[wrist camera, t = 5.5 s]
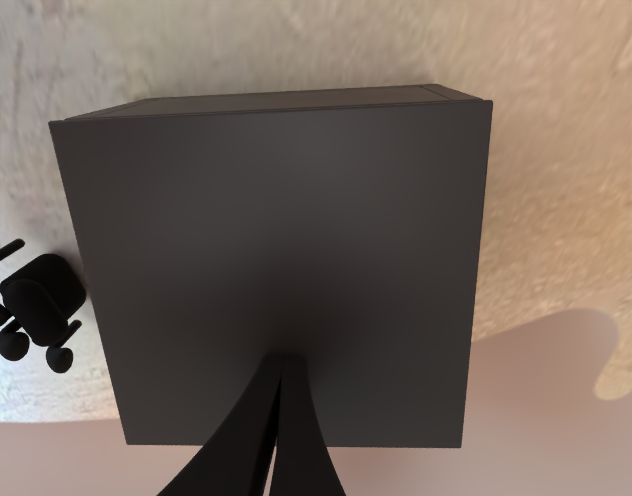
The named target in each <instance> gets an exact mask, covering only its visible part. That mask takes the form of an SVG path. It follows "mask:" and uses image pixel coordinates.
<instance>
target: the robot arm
mask: <svg viewBox="0 0 632 496" xmlns="http://www.w3.org/2000/svg"><path fill="white" fill-rule="evenodd" d="M276 439H277V450H276V457H275V463H274V469H273V476H272V481H271V487H270V493H269V496H346V494H345V492H344V490H343V487H342V486H341V483H340V481H339V478H338V476H337V474H336V471H335V469H334V466H333V464H332V461H331V459H330V456H329V453H328V450H327V448H326V445H325V442H324V439H323V436H322V433H321V429H320V426H319V423H318V419H317V415H316V411H315V408H314V404H313V399H312V395H311V390H310V384H309V377H308V362H307V360H306V359H303V358H294V357H284V356H275V355H265V356H263V357H262V359H261V361H260V364H259V366H258V368H257V370H256V371H255V373H254V375H253V377H252V379H251V380H250V382H249V384H248V385H247V387H246V389H245V390H244V392H243V393H242V395H241V396H240V398H239V399H238V401H237V402H236V404H235V405H234V407H233V408H232V410H231V411H230V412H229V414H228V415H227V416H226V418H225V419H224V420H223V422H222V423H221V424H220V426H219V427H218V428H217V430H216V431H215V432H214V434H213V435H212V436H211V437H210V438H209V440H208V441H207V442H206V443H205V445H204V446H203V447H202V448H201V449H200V450H199V452H198V453H197V454H196V455H195V456H194V457H193V458H192V460H191V461H190V462H189V463H188V464H187V465H186V466H185V467H184V468H183V469H182V470H181V471H180V472H179V474H178V475H177V476H176V477H175V478H174V479H173V480H172V481H171V482H170V483H169V484H168V485H167V486H166V487H165V488H164V489H163V490H162V491H161V492H160V493H159V494H158V495H157V496H263V493H264V489H265V485H266V480H267V476H268V472H269V468H270V464H271V459H272V455H273V451H274V447H275V443H276Z"/></svg>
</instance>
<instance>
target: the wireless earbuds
mask: <svg viewBox="0 0 632 496" xmlns="http://www.w3.org/2000/svg"><path fill="white" fill-rule="evenodd" d="M24 245H25V242H24V241H23V240H22V239H16V240H15V241H13V242H11V243H9V244H8V245H6V246H4V247H3V248H1V249H0V261H1V260H3V259H4V258H6V257H7V256H9V255H11V254H12V253H14V252H15V251H17V250H19V249H20V248H22V247H23V246H24ZM0 293H1V295H2V296H3V303H4V306H5V307H4V306H3V305H1V304H0V326H2V325H4V324H5V323H6V322H7V320H8V319H10V318H11V317H12V316H14V317H15V319H14V320H12V321H11V322H10V323H9V324H8V325H6V326H5V327H4V328H3V329H2V330H1V331H0V354H1V355H2V356H3V357H4V358H5V359H7V360H10V361H18V360H20V359H22V358H23V357H24V356H25V355H26V354H27V352H28V349H29V344H30V341H29V337H28V335H29V336H30V337H31V339H32V342H33V343H35V344H36V345H38V346H41V347H46V346H49V347H48V349H47V351H46V360H47V363H48V365H49V367H50V368H51V369H52V370H53V371H54V372H56V373H65V372H67V371H68V370H69V368H70V367H71V365H72V362H73V352H72V350H71V349H69V348H61V347H62V346H63V345H64V344H65V343H66V341H67V340H68V339H69V338H70V337H71V336H72V335H73V334H74V333H75V332H76V331H77V330H78V329H79V328H80V326H81V325H82V322H81V321H79V320H74V321H73V322H72V323H71V324H70V325H69V326H68V321H67V320H68V319H69V318H70V317H71V316H72V315H73V314H74V313H75V312H76V311H77V310H78V309H79V308H80V307H81V306H82V305H83V304H84V302H85V300H86V291H85V289H84V287H83V286H82V284H81V283H80V282H79V280H78V279H77V277H76V276H75V274H74V273H73V271H72V270H71V268H70V267H69V265H68V264H67V262H66V261H65V260H64V259H63V258H62V257H61V256H59V255H56V254H43V255H40V256H38V257H37V258H35V259H34V260H32V261H31V262H29V263H28V264H27V265H25V266H24V267H22V268H21V269H19V270H18V271H16V272H15V273H13V274H12V275H11V276H9V277H8V278H6V279H5V280H3V281H2V282H1V283H0ZM21 327H23V329H24V330H25V331H26V332H27V334H28V335H27V334H25V333H23V332H16V331H18V330H19V329H20V328H21Z"/></svg>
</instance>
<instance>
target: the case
mask: <svg viewBox="0 0 632 496" xmlns="http://www.w3.org/2000/svg"><path fill="white" fill-rule="evenodd" d="M478 100H483V99H481V98H478V97H475V96H471V95H468V94H465V93H462V92H459V91H456V90H453V89H450V88H447V87H444V86H442V85H439V84H425V85H405V86H386V87H366V88H346V89H326V90H307V91H287V92H267V93H248V94H228V95H208V96H189V97H169V98H149V99H143V100H139V101H135V102H131V103H127V104H123V105H119V106H115V107H111V108H107V109H103V110H99V111H95V112H91V113H87V114H83V115H79V116H75V117H70V118H66V119H65V120H79V119H100V118H121V117H142V116H163V115H184V114H205V113H226V112H247V111H268V110H289V109H310V108H331V107H352V106H373V105H394V104H415V103H436V102H457V101H478Z"/></svg>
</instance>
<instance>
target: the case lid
mask: <svg viewBox="0 0 632 496" xmlns="http://www.w3.org/2000/svg"><path fill="white" fill-rule="evenodd" d="M492 110H493V101H492V100H478V101H457V102H436V103H415V104H394V105H373V106H352V107H331V108H310V109H289V110H268V111H247V112H226V113H205V114H184V115H163V116H142V117H121V118H100V119H79V120H58V121H50V122H48V125H49V129H50V133H51V137H52V141H53V145H54V149H55V153H56V158H57V162H58V166H59V170H60V174H61V178H62V182H63V186H64V190H65V194H66V198H67V202H68V207H69V211H70V215H71V219H72V223H73V227H74V231H75V235H76V239H77V243H78V247H79V252H80V256H81V260H82V264H83V268H84V272H85V276H86V280H87V284H88V288H89V292H90V296H91V301H92V305H93V309H94V313H95V317H96V321H97V325H98V329H99V333H100V337H101V341H102V345H103V350H104V354H105V358H106V362H107V366H108V370H109V374H110V378H111V382H112V386H113V390H114V395H115V399H116V403H117V407H118V411H119V415H120V419H121V423H122V427H123V431H124V435H125V439H126V443H127V444H128V445H196V446H204V445H205V443H206V442H207V441H208V440H209V438H210V437H211V436H212V435H213V434H214V432H215V431H216V430H217V428H218V427H219V426H220V424H221V423H222V422H223V420H224V419H225V418H226V416H227V415H228V414H229V412H230V411H231V410H232V408H233V407H234V405H235V404H236V402H237V401H238V399H239V398H240V396H241V395H242V393H243V392H244V390H245V389H246V387H247V385H248V384H249V382H250V380H251V379H252V377H253V375H254V373H255V371H256V370H257V368H258V366H259V364H260V361H261V359H262V357H263V356H265V355H275V356H284V357H294V358H303V359H306V360H307V362H308V377H309V384H310V390H311V395H312V399H313V404H314V408H315V411H316V415H317V419H318V423H319V426H320V429H321V433H322V436H323V439H324V442H325V445H326V447H389V448H390V447H391V448H392V447H394V448H395V447H396V448H461V444H462V433H463V423H464V412H465V400H466V390H467V379H468V369H469V357H470V347H471V337H472V326H473V315H474V304H475V293H476V283H477V272H478V261H479V250H480V240H481V229H482V218H483V207H484V196H485V186H486V175H487V164H488V153H489V143H490V132H491V121H492ZM275 446H277V439H276V443H275Z"/></svg>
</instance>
